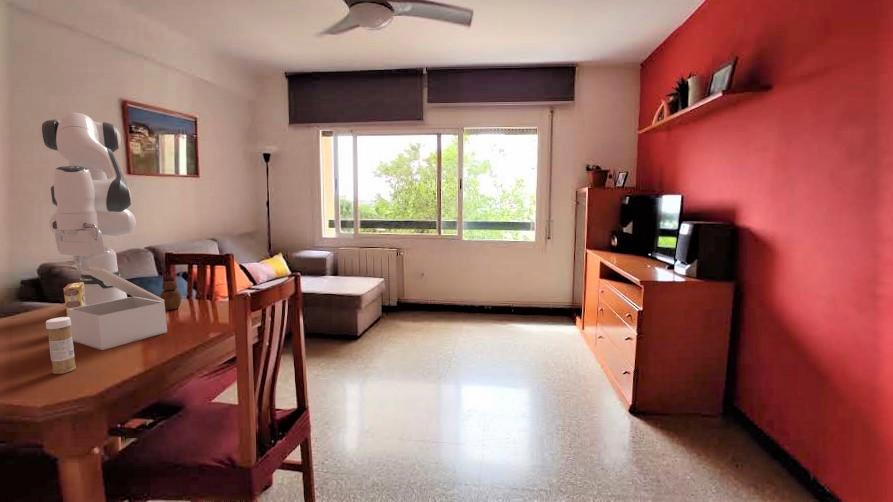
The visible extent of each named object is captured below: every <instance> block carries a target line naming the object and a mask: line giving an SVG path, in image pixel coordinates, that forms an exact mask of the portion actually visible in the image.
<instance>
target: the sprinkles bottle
mask: <svg viewBox="0 0 893 502" xmlns="http://www.w3.org/2000/svg"><path fill="white" fill-rule="evenodd" d="M45 327H46V330H47V334H48V335H47V336H48V343H49V353H50V354H49V355H50V360H51V364H52V374H55V375H61V374H67V373H70V372H73V371H75V370H76V369H77V366H76V360H75V350H74V349H75V348H74V341H73V340H72V335H71V328H70V327H71V321H70V318H69V317H67V316H61V317H54V318H50V319H48V320H46V321H45Z"/></svg>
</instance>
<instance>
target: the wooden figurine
mask: <svg viewBox="0 0 893 502" xmlns="http://www.w3.org/2000/svg"><path fill="white" fill-rule="evenodd" d="M161 273H162V281H163V282H162V284H161V287H162V289H163V290H162V291H161V293H160V296H159V297H160V298H162V299H164V300H165V301H164V303H165V311H166V310H168V311H174V310H176V309H179V308H180V306H181V303H182V295H181V292H180V290H178V284H177V281H176V280H175V277H174V276H172V274H169V272H168V271H167V272H166V274H165V272H164V271H163V270H162V271H161ZM161 302H162V301H161Z"/></svg>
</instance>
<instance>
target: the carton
mask: <svg viewBox="0 0 893 502" xmlns="http://www.w3.org/2000/svg"><path fill="white" fill-rule="evenodd" d="M166 313H167V312H166V309H165V303H164V302H161V301H156V300H151V299H146V298H140V297H135V296H130V297H127V298H123V299H118V300H113V301H108V302H102V303H97V304H92V305H87V306H81V307H76V308H71V309H68V315H69V318H70V321H71V327H70V328H71V335H72V340H73V343H74V342H75V343H77V344H81V345H83V346H88V347H90V348H94V349H96V350H101V351H103V350H107V349H112V348H115V347H119V346H123V345H127V344H129V343H133V342H137V341H141V340H144V339H148V338H151V337H155V336H158V335H163V334H167V333H168V326H167V315H166Z"/></svg>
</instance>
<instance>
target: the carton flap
mask: <svg viewBox="0 0 893 502" xmlns="http://www.w3.org/2000/svg"><path fill="white" fill-rule="evenodd" d="M71 267H72V268H75V269H77V265H76V264H72V265H71ZM83 272H85V273H87V274H89V275H91V276H93V277H95V278H97V279H99V280H101V281H103V282H105V283H107V284H109V285H111V286H113V287H115V288H117V289H119V290H121V291H123V292H125V293H126V294H127V295H130V297H139V298H144V299H150V300H155V301H162V302H164V301H165V300H164V299H162V298H160V296H157V295H155V294H154V293H152V292H150V291H148V290H146V289H144V288H143V287H141V286H138V285H137V284H135V283H132V282H131V281H128V280H126V279H125V278H123V277H121V276H120V277H119V276H117V275H115V274H113V273H111V272H110V271H108V270H106V269H104V268H96V267H89V271H83Z"/></svg>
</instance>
